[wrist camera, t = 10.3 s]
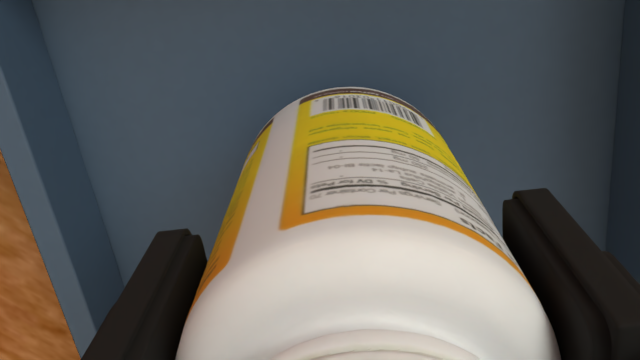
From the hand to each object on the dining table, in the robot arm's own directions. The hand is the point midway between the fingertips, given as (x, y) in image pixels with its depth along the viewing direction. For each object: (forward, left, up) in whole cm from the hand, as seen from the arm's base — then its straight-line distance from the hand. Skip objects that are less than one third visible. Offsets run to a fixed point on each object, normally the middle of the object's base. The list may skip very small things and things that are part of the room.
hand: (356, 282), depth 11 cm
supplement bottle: (0, 0, -5) cm, 5 cm away
